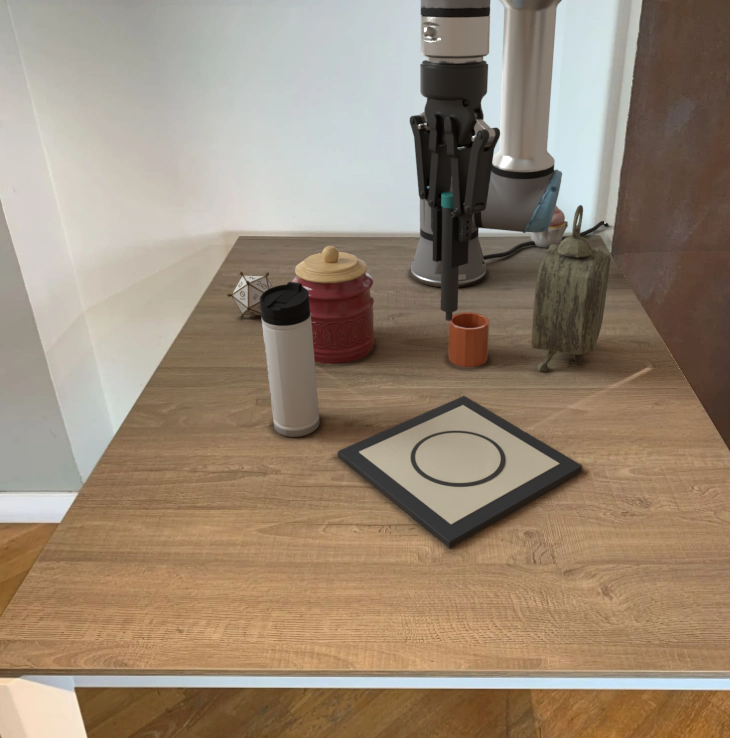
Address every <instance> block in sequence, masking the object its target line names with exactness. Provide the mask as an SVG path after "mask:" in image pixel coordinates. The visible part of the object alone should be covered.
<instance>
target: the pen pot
mask: <svg viewBox="0 0 730 738" xmlns="http://www.w3.org/2000/svg"><path fill="white" fill-rule="evenodd" d="M489 340H490V319H489V318H488V317H487V316H485V315H484V314H481V313H477V312H459V313H456V314H454V315H452V320H451V321H448V341H447V342H448V345H447V346H448V347H447V351H448V352H447V358H448V360H449V362H451V363H452V364H453V365H456V366H458V367H464V368H473V367H479V366H483V365H484V364H485V363H487V361H488V357H489Z"/></svg>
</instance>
